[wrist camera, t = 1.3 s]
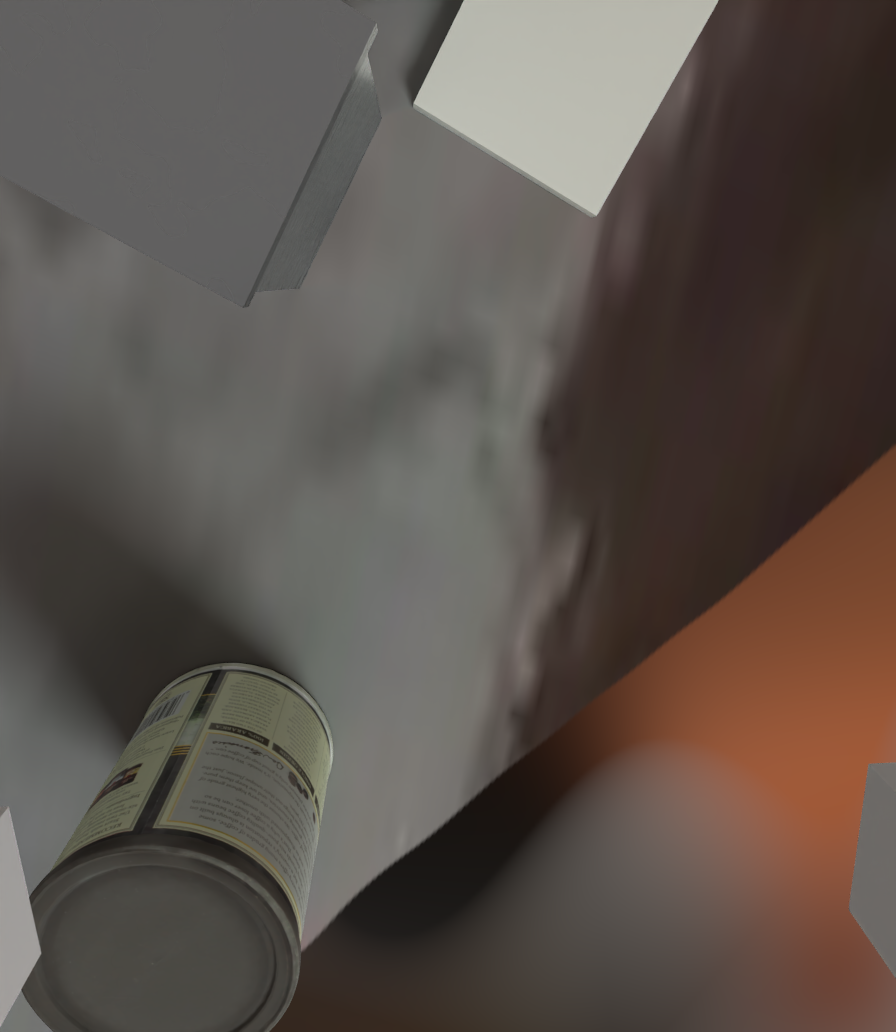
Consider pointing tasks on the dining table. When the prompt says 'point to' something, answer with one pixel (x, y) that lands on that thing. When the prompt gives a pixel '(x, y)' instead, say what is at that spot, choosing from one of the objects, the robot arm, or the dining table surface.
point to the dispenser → (191, 126)
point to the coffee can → (190, 865)
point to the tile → (560, 84)
